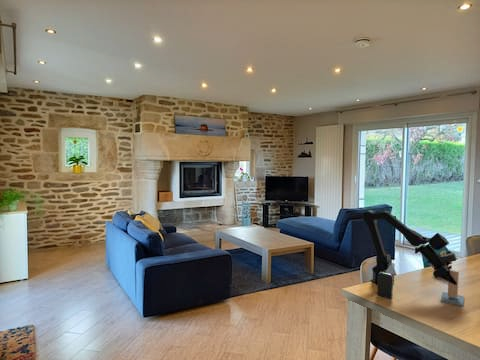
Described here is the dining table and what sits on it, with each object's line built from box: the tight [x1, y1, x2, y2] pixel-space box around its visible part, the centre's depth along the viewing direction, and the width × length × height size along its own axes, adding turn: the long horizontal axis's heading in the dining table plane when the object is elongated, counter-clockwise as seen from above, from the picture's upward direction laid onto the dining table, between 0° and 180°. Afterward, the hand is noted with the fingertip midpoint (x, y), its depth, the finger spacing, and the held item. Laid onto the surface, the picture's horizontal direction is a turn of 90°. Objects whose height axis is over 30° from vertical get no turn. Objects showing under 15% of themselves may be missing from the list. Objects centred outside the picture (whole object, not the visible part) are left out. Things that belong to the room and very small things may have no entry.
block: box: [447, 268, 460, 298], centre depth 156 cm, size 4×4×12 cm
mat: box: [440, 291, 465, 307], centre depth 157 cm, size 13×9×1 cm
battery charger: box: [376, 271, 395, 299], centre depth 159 cm, size 7×4×11 cm, turn 47°
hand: (456, 283), depth 155 cm, fingers closed on block, 3 cm apart
